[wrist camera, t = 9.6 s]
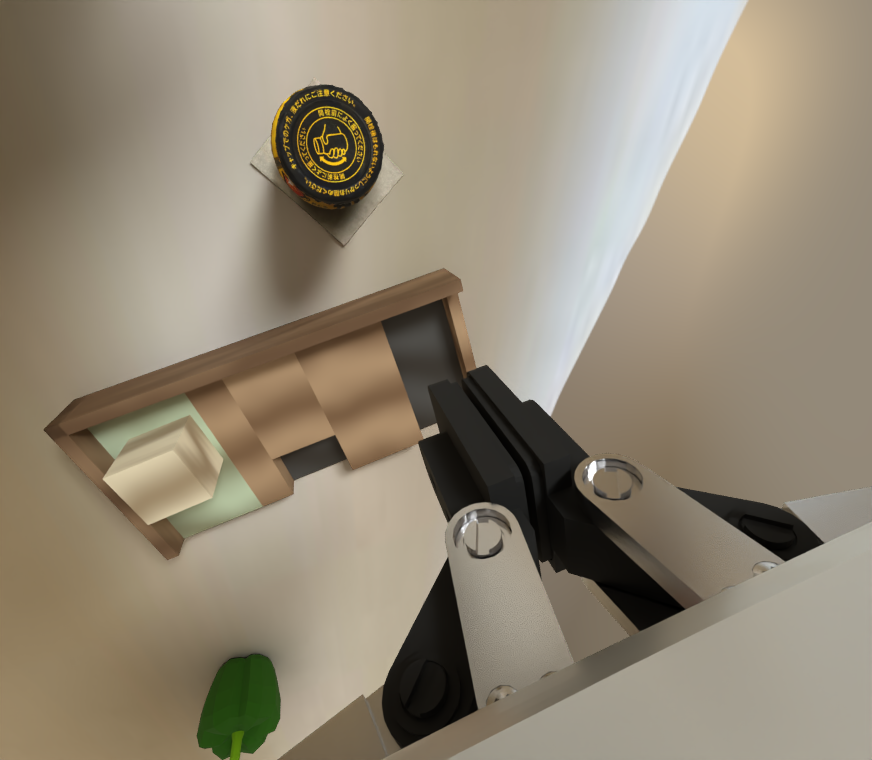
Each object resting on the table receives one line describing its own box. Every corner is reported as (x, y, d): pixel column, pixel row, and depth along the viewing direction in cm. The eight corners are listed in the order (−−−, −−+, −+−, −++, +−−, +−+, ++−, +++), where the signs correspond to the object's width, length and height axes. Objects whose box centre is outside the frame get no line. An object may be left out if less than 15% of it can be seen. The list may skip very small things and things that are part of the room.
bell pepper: (230, 638, 49) (214, 737, 40) (293, 650, 53) (291, 742, 44) (195, 683, 50) (172, 788, 42) (258, 691, 54) (250, 788, 46)
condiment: (314, 77, 28) (320, 21, 18) (403, 174, 33) (449, 173, 22) (250, 162, 29) (220, 154, 19) (344, 245, 34) (361, 276, 23)
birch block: (128, 439, 33) (102, 478, 29) (189, 414, 33) (172, 450, 29) (167, 482, 35) (148, 525, 31) (223, 459, 36) (212, 497, 32)
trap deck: (74, 399, 33) (43, 429, 29) (443, 268, 37) (460, 279, 33) (180, 523, 40) (167, 560, 36) (479, 403, 44) (495, 425, 40)
